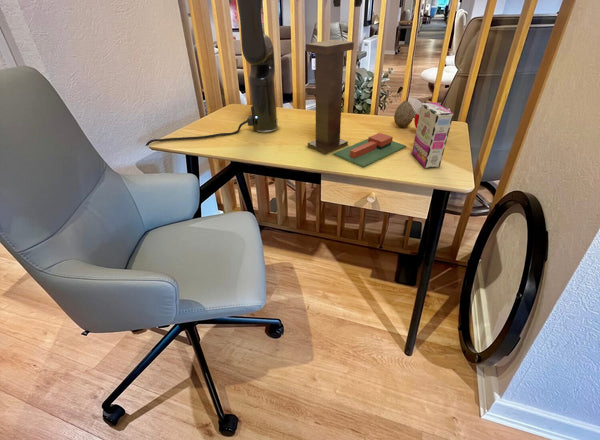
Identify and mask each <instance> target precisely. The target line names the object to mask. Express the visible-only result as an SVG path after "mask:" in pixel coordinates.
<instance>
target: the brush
mask: <svg viewBox="0 0 600 440" xmlns="http://www.w3.org/2000/svg"><path fill="white" fill-rule="evenodd" d="M393 138H394V137H393V136H391V135H389V134H385V133H382V132H378V133H375V134H373V135H371V136H368V138H367V139H368V143H366V144H364V145H361V146H359V147H357V148H354V149H352V150H350V157H352V158H354V159H355V158H357V157H359V156H361V155H364V154H366V153H368V152H370V151H372V150H375V149H380V150H381V149H383V148H385V147H388V146H390V145H391V142H392V141H393Z"/></svg>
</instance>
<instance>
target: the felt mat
mask: <svg viewBox="0 0 600 440" xmlns="http://www.w3.org/2000/svg"><path fill="white" fill-rule="evenodd" d="M366 143H368V138H366V139H364V140H361V141H360V142H357V143H354V144H352V145H350V146H346V147H344V148H341V149H339V150H337V151H334V153H333V156H335V157H338V158H340V159H342V160H345V161H347V162H350V163H352V164H355V165H357V166H359V167H361V168H366V167H368V166H369V165H372V164H374V163H377V162H378V161H380V160H382V159H384V158H386V157H388V156H390V155H392V154H394V153H397V152H398V151H401V150H403V149H405V148H406V147H407V145H406V144H402V143H400V142H397V141H394V140H392V142H391V145H390V146H388V147H385V148H383V149H381V150H380V149H375V150H372V151H370V152H368V153H366V154H364V155H361V156H359V157H357V158H355V159H354V158H352V157H350V150H352V149H354V148H357V147H359V146H361V145H364V144H366Z"/></svg>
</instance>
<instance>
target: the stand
mask: <svg viewBox="0 0 600 440" xmlns="http://www.w3.org/2000/svg"><path fill="white" fill-rule="evenodd" d="M354 45H355V44H354V41H349V40H340V39H327V40H322V41H316V42H308V43H305V52H306V53H312V54H314V60H315V61H314V65H315V66H314V69H315V70H314V71H315V73H314V76H315V80H314V81H315V82H314V83H315V85H314V87H315V91H314V93H315V94H314V95H315V96H314V97H315V98H314V99H315V139H314V140H312V141H309V142H307V148H309V149H312V150H314V151H316V152H318V153H321V154H323V155H324V156H325V155H328V154H330V153H333V152H336V151H339V150H341V149H343V148H346V147H348V145H349V140H345V139H343V138H341V124H342V103H343V102H342V100H343V75H344V55H345V52H348V51H353V50H354V48H355V47H354Z"/></svg>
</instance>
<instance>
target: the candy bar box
mask: <svg viewBox="0 0 600 440" xmlns="http://www.w3.org/2000/svg"><path fill="white" fill-rule="evenodd" d="M420 106H421V110H420V115H419V119H418V125H417V129H416V131H415V135H414V140H413V146H412V150H411V155H412V156H413V157H414V158H415V159H416V161H418V163H420V164H421V166H422V167H423V168H424V169H439V168H440V167H441V163H442V160H443V156H444V152H445V149H446V145H447V141H448V138H449V133H450V130H451V126H452V122H453V118H454V114H455V113H454V112H452V111H451V110H450V111H451V112H450V111H449V110H447V109H448V108H446V107H444V105H443V106H442V105H440V104H439V103H438V102H423V103H421V104H420Z"/></svg>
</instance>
